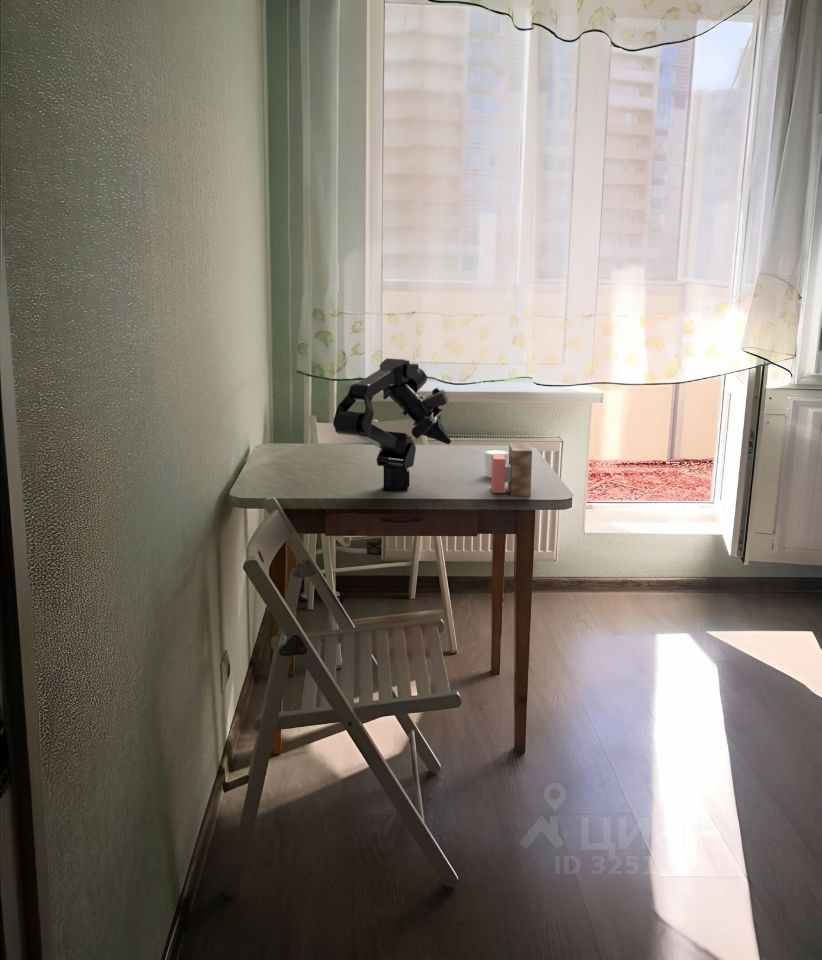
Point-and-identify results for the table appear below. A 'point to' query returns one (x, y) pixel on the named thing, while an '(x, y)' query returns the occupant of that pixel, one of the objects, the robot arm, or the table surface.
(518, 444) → the block
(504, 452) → the shot glass
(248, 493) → the table surface
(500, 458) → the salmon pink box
